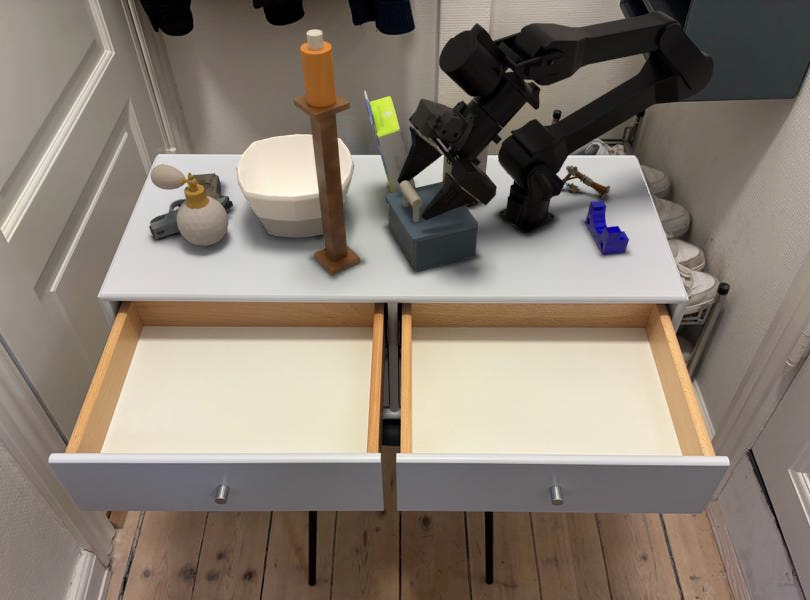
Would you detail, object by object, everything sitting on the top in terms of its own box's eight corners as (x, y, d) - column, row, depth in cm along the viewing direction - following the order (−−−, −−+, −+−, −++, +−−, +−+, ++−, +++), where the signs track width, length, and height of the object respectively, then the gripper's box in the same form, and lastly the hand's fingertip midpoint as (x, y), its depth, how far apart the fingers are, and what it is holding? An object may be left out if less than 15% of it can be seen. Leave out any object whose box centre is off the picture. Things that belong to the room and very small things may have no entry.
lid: (412, 243, 93) (412, 215, 90) (384, 199, 100) (383, 171, 97) (478, 227, 96) (481, 199, 92) (445, 185, 103) (447, 157, 99)
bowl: (356, 181, 113) (352, 130, 106) (359, 247, 101) (355, 194, 94) (251, 186, 112) (240, 135, 105) (241, 253, 100) (229, 200, 93)
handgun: (130, 190, 108) (151, 229, 100) (212, 166, 112) (237, 202, 105) (135, 203, 109) (155, 242, 102) (216, 179, 114) (240, 215, 107)
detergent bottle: (325, 90, 82) (319, 23, 76) (341, 101, 80) (336, 33, 74) (300, 99, 81) (292, 31, 75) (316, 110, 79) (309, 42, 73)
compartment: (416, 271, 97) (416, 243, 93) (388, 227, 105) (388, 198, 101) (475, 256, 100) (478, 227, 96) (444, 213, 107) (445, 185, 103)
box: (423, 213, 105) (398, 116, 92) (398, 221, 106) (370, 124, 93) (411, 177, 112) (388, 81, 99) (388, 183, 113) (361, 89, 100)
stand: (341, 245, 102) (327, 87, 83) (360, 262, 99) (349, 102, 80) (314, 258, 100) (292, 98, 81) (332, 275, 97) (314, 114, 78)
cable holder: (624, 252, 100) (631, 231, 97) (602, 254, 100) (608, 233, 97) (606, 220, 105) (612, 199, 102) (585, 222, 105) (590, 201, 102)
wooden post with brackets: (554, 180, 111) (570, 160, 108) (594, 204, 112) (611, 184, 109) (552, 186, 110) (568, 165, 107) (593, 210, 111) (610, 191, 108)
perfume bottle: (230, 252, 100) (213, 184, 91) (165, 257, 100) (141, 189, 91) (233, 222, 105) (217, 155, 96) (171, 227, 105) (149, 159, 96)
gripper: (423, 49, 90) (350, 139, 95) (483, 113, 78) (396, 211, 84) (471, 95, 97) (401, 176, 103) (532, 159, 86) (450, 247, 91)
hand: (411, 200), depth 95 cm, fingers open, 9 cm apart
